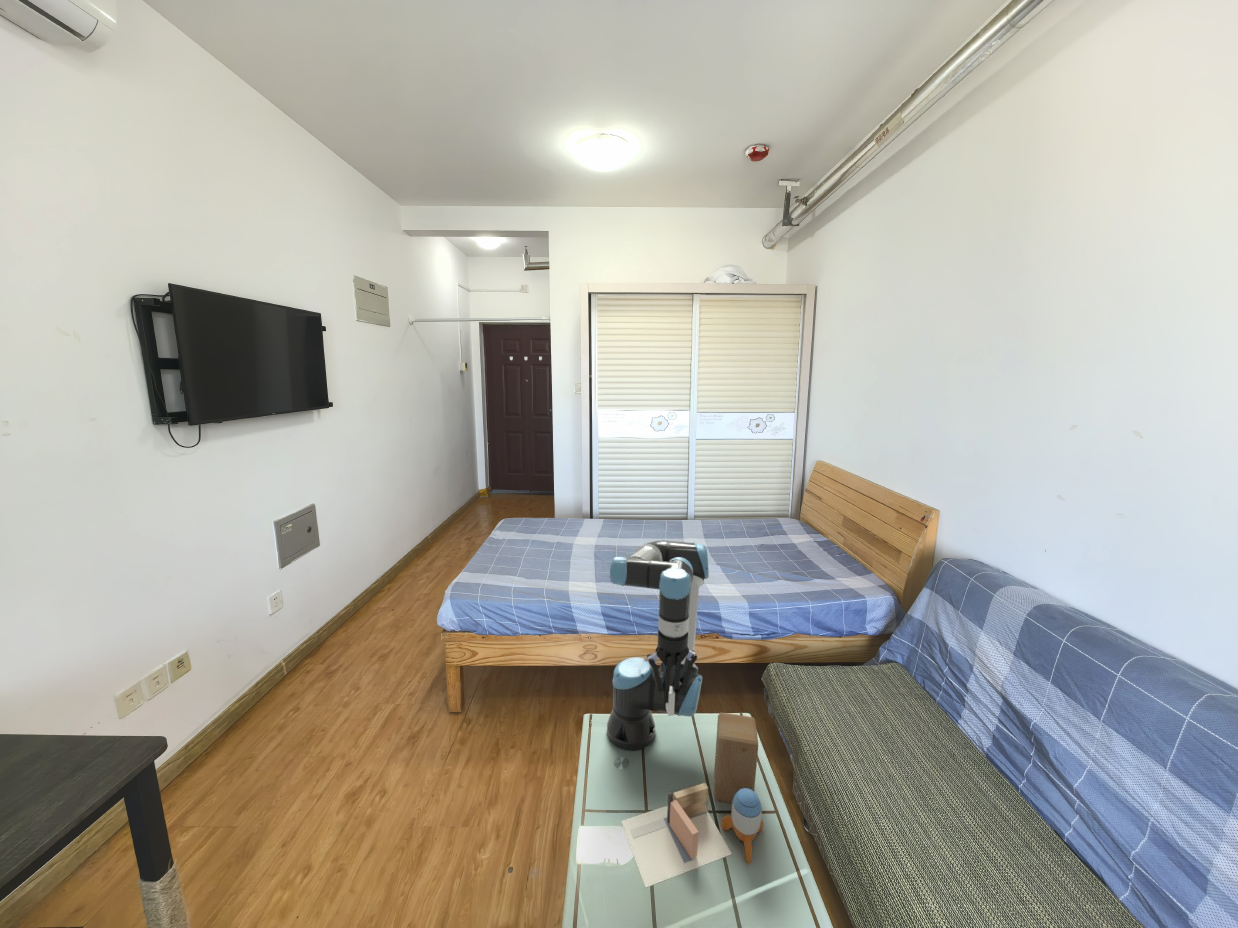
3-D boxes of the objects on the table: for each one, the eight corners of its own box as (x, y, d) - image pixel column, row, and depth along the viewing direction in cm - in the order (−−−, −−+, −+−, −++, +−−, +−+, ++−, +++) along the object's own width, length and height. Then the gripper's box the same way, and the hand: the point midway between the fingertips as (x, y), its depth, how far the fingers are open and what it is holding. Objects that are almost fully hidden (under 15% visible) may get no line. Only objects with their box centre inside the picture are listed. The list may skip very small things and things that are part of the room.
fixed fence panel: (668, 825, 115) (669, 797, 114) (665, 819, 117) (667, 791, 115) (706, 812, 119) (708, 784, 117) (703, 806, 120) (705, 779, 119)
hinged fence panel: (669, 825, 115) (670, 802, 113) (674, 822, 115) (675, 799, 114) (691, 858, 107) (692, 834, 106) (697, 855, 108) (698, 831, 106)
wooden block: (753, 809, 120) (759, 744, 116) (713, 802, 122) (718, 737, 118) (750, 777, 130) (755, 715, 125) (714, 770, 132) (718, 710, 127)
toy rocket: (714, 835, 114) (721, 775, 114) (748, 825, 119) (754, 767, 119) (741, 870, 105) (749, 805, 105) (777, 858, 110) (784, 795, 110)
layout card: (621, 822, 116) (621, 820, 116) (698, 796, 123) (698, 794, 123) (645, 889, 101) (645, 886, 101) (731, 855, 109) (731, 853, 109)
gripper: (651, 641, 111) (648, 725, 116) (703, 636, 113) (698, 719, 118) (644, 624, 118) (642, 703, 123) (693, 620, 120) (689, 698, 125)
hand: (669, 711), depth 121 cm, fingers closed
